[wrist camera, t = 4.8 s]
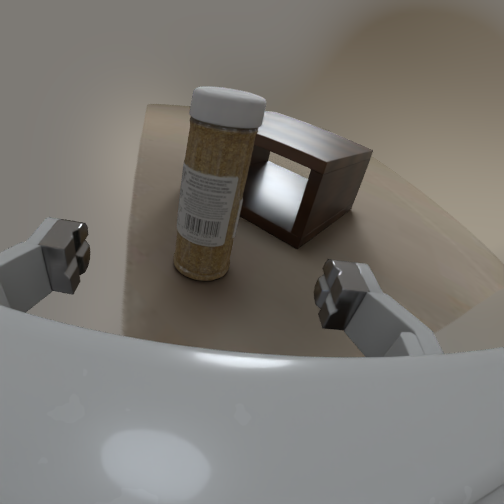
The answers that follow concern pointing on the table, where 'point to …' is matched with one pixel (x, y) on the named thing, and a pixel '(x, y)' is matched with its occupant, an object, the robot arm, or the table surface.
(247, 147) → the sprinkles bottle
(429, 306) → the table surface
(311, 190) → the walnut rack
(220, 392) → the robot arm
